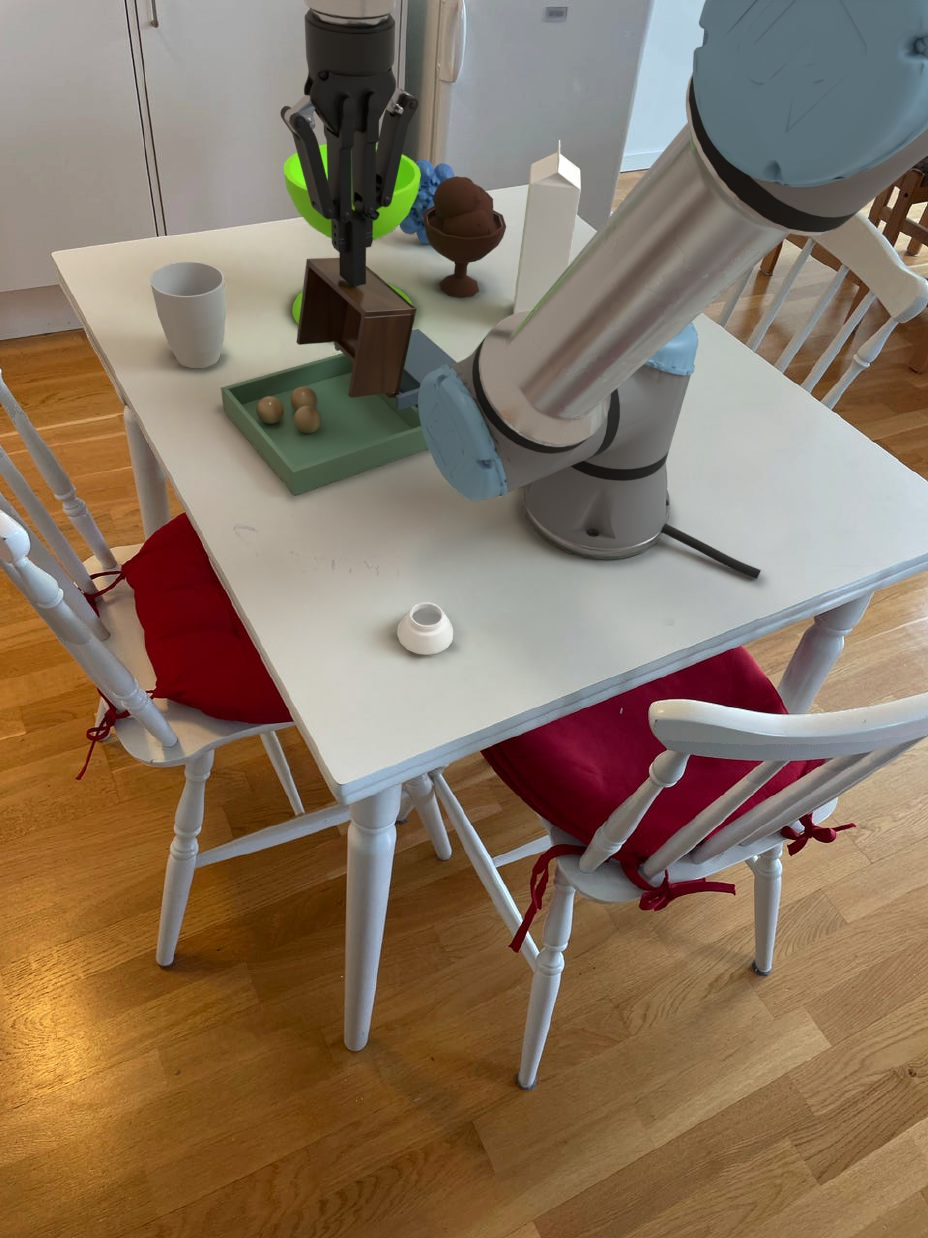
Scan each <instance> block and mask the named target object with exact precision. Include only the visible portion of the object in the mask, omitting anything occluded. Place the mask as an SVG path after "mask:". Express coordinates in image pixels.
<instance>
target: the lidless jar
mask: <svg viewBox="0 0 928 1238" xmlns="http://www.w3.org/2000/svg"><path fill="white" fill-rule="evenodd" d="M396 633H397V634H396V636H397V638H398V640H399V643H400V644H401V645H402V646H403V647H404V648H405V649H406V650H408V651H410V652H412V653H415V654H417V655H426V656H429V655H434V654H439V653H441V652H443V651H445V650H446V649H448V648H449V646H451V644H452V642H453V640H454V627H453V625H452V622H451V621H450V620H449V618H448V616H447V614H446V613H445V612H444V610H443V609H442V608H441V607H440V606H439V605H438V604H435V603H433V602H429V601H424V602H419V603H417V604H415V605H413V606H412V608H411V609H410V610H409V611H408V612H407V613H406V614H405V616H403V618H402V619H401V621H399V623H398V626H397V632H396Z"/></svg>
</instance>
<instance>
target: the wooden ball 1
mask: <svg viewBox="0 0 928 1238" xmlns="http://www.w3.org/2000/svg"><path fill="white" fill-rule="evenodd" d="M256 412H257V415H258V417H259V419H260V420H261V421H263V422H264V423H267V424H275V423H277V422H279V421H280V420H281V419H282V417H283V415H284V407H283V404H282V403H281V401H280V400H279V399H277V398H275V397H272V396H267V397H264V398H262V399H261V400H260V401H259V402H258V404H257V407H256Z"/></svg>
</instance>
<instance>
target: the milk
mask: <svg viewBox="0 0 928 1238" xmlns="http://www.w3.org/2000/svg"><path fill="white" fill-rule="evenodd" d="M581 184H582V181H581V169H580V168H579V167H578V166H576V164H574V163H573V162H571V161H570V160H569V159H568V158H566V157H565V156H564V155H563V154H561V139H559V140H558V145H557V151H556V152H554V153H552V154H550V155H548V156H546V157H543V158H542V159H539V160H537V161H534V162H533V163H532V164H531V165H530V172H529V181H528V187H527V194H526V195H527V196H526V203H525V210H524V211H525V212H524V219H523V220H524V221H523V228H522V234H521V235H522V236H521V244H520V251H519V252H520V253H519V259H518V260H519V261H518V268H517V277H516V284H515V293H514V300H513V301H514V302H513V311H512V315H513V314H516V313H520V312H531V311H532V310H533V309H534V307H535V306H536V305H537V304H538V303H539V301H540V300H541V299H542V298H543V297H544V295H545V294H546V293H547V292H548V291H549V289H550V288H551V287H552V286H553V284H554V283H555V282H556V281H557V280H558V278H559V277H560V276H561V275H562V274H563V272H564V271H565V270H566V269H567V268H568V266H569V265H570V258H571V253H572V248H573V247H572V246H573V241H574V235H575V228H576V221H577V215H578V210H579V204H580V197H581V191H582V186H581Z"/></svg>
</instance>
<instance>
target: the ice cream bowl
mask: <svg viewBox="0 0 928 1238" xmlns="http://www.w3.org/2000/svg"><path fill="white" fill-rule="evenodd" d="M433 202H434V206H433V207H431V208H430V209H428V210H427V211H425V212H424V213H423V219H424V225H425V231H426V236H427V238H428V241H429V243H430V244H429V245H430V246H431V247H432V248H433V249H434V250H435V251H436V252H437V253H438V254H439V255H441V256H443V257H444V258H446V259H447V260H449V261H451V262H453V263H454V270H453V273H452V274H450V275H446V276H445V277H444V278H442V279H441V280H440V282H439V289H440V292H443V293H444V294H446V295H447V296H449V297H454V298H460V299H462V298H463V299H464V298H469V297H474V296H475V295H476V294H477V293H478V292H480V289H479V284H478V281H477V280H476V279H474V278H473V277H471V276H469V275H468V265H469V264H470V263H474V262H475V263H476V262H479V261H481V260H483V258H485V257H486V256H487V255H488V254H490V253H491V252H492V251H493V250H495V249H496V248H498V246H499V245H500V244H501V242H502V240H503V239H504V236H505V232H506V229H507V224H506V221H505V218H504V215H503V214H501V213H500V212H498V211H496V210H494V198H493V197H492V196H491V195H490V194H489V193H488V191H486V190H485V189H484V188H483V187H482V186H480V185H478V184H475V183H474V181H473V180H472V179H471V178H469V177H467V176H457V175H456V176H455V175H454V177H452V178H448V179H446V180H444V181H443V182H442V183H440V184H439V186H438V188H437V189H436V191H435V193H434V197H433Z"/></svg>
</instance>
